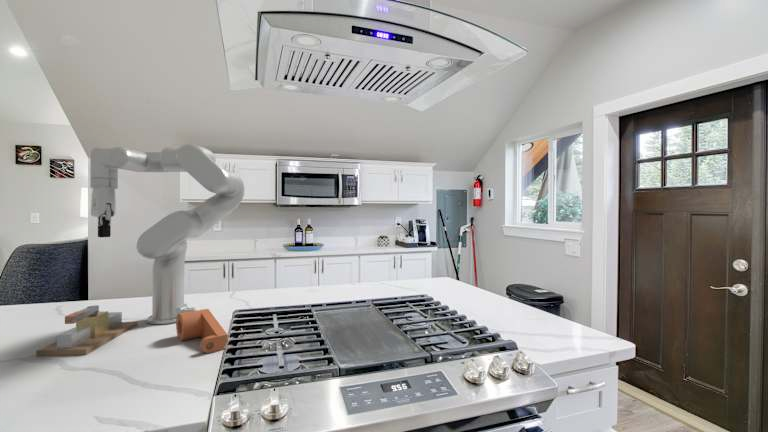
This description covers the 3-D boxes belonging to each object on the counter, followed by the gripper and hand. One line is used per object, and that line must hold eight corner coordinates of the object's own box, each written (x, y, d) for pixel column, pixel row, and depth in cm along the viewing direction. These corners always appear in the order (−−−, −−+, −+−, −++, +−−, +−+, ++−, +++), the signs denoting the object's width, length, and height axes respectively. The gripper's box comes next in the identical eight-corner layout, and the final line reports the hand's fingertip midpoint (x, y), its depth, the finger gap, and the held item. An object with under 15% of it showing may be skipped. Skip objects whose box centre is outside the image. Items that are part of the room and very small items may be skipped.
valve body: (107, 323, 117) (107, 303, 117) (124, 323, 118) (124, 303, 118) (54, 348, 95) (54, 324, 95) (74, 348, 96) (74, 323, 96)
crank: (176, 337, 110) (176, 311, 110) (203, 331, 116) (203, 306, 116) (196, 356, 96) (196, 326, 96) (227, 348, 101) (227, 320, 101)
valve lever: (90, 311, 108) (90, 305, 108) (100, 311, 108) (100, 304, 108) (63, 324, 96) (63, 316, 96) (75, 323, 96) (75, 316, 96)
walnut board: (98, 327, 118) (98, 322, 118) (137, 326, 119) (137, 321, 119) (36, 356, 94) (36, 350, 94) (86, 354, 95) (86, 349, 95)
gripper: (84, 184, 127) (84, 236, 127) (97, 182, 118) (97, 238, 118) (110, 185, 133) (110, 235, 133) (124, 184, 123) (124, 237, 124)
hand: (104, 236), depth 125 cm, fingers closed
